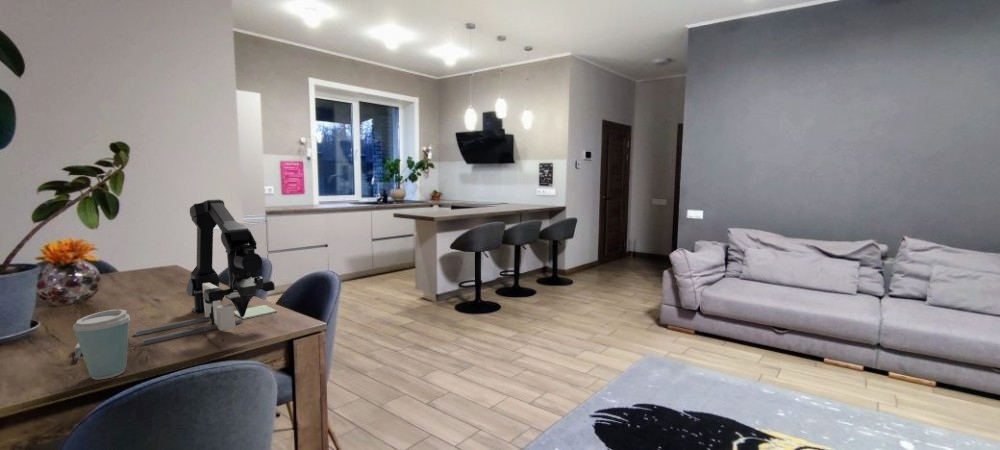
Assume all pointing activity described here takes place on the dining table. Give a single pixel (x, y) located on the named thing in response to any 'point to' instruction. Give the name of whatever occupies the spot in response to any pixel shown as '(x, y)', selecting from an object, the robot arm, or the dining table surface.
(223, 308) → the frosted white block
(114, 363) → the disposable coffee cup
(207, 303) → the push button
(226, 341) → the dining table surface
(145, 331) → the tie rails
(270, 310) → the pad
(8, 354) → the dining table surface
